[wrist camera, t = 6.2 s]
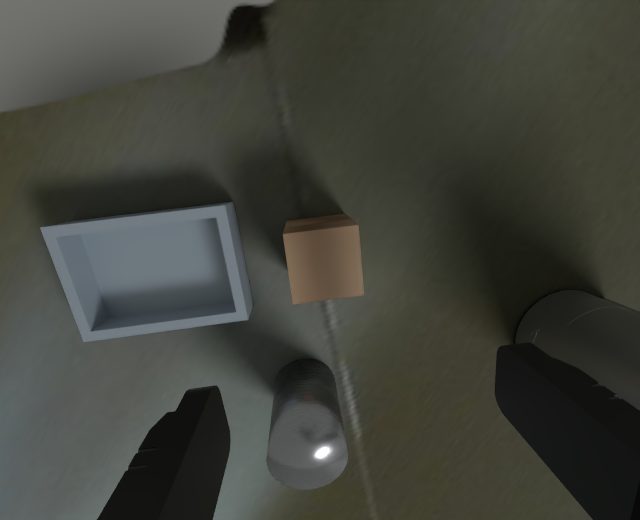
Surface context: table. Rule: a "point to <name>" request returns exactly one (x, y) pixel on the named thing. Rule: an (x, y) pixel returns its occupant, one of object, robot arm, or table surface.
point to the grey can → (306, 427)
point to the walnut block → (323, 258)
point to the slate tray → (152, 270)
